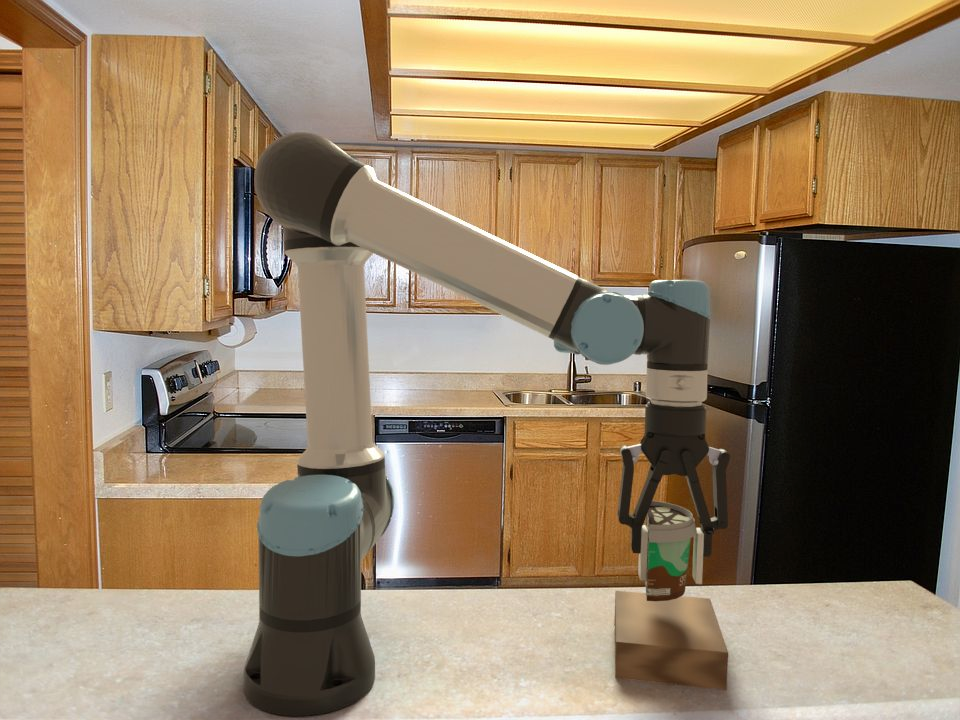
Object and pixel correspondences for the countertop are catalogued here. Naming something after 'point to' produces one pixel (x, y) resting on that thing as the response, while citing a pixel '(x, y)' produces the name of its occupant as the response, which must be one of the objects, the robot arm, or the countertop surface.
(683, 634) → the walnut block
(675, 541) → the food container
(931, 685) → the countertop surface
